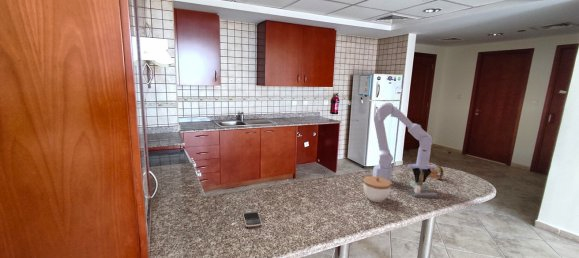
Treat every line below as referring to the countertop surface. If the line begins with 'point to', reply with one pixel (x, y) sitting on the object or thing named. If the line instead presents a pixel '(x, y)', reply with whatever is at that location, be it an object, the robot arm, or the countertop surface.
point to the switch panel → (424, 193)
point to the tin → (435, 172)
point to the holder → (413, 184)
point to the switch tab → (417, 189)
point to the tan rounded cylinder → (420, 179)
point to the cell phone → (252, 219)
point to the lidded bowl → (376, 188)
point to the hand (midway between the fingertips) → (419, 181)
